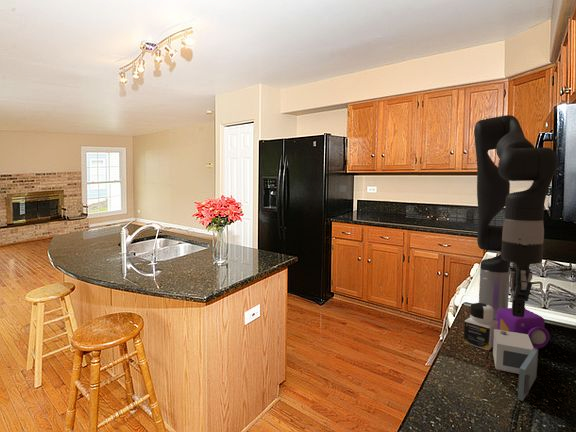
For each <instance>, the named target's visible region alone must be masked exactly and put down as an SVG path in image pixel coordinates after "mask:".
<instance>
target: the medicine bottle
mask: <svg viewBox="0 0 576 432" xmlns="http://www.w3.org/2000/svg"><path fill="white" fill-rule="evenodd" d="M469 310H470V312H469V313H470V315H469V317H468V318H466V319H465V320H464V325H463V344H467V345H470V346H473V347H476V348H480V349H483V350H486V351H490V350H491V349H493V340H494V329H497V330H498V321H497V320H496V319H493V310H494V309H493V308H492V307H491V306H489V305H487V304H484V303H479V302H475V303H471V305H470V309H469Z"/></svg>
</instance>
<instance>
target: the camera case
mask: <svg viewBox="0 0 576 432" xmlns="http://www.w3.org/2000/svg"><path fill="white" fill-rule="evenodd" d="M532 348H534V347H533V345H532V343H531V341H530V338H529V336H528V334H522V333H516V332H510V331H503V330H497V329H494V340H493V347H492V356H493V360H494V361H493V362H494V366H495V370H498V371H503V372H506V373H507V372H508V373H512V374H518V375H519V369H520V367H521V365H522V364H523V362H524V361H525V359H526V358H527V357H528V355H529V354H530V352H531V351H532Z"/></svg>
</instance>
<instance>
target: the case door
mask: <svg viewBox="0 0 576 432" xmlns="http://www.w3.org/2000/svg"><path fill="white" fill-rule="evenodd" d="M538 356H539V349H537V348H534V347H533V348H532V351H531V352H530V354H529V355H528V357H527V358H526V359H525V361H524V362H523V364H522V365H521V367H520V369H519V374H518V384H517V385H518V388H517V400H519V401H521V402H524V401H525V398H526V396H527V395H528V394H529V393H530V389H531V387H533V384H534V382H535V381H536V379H537V378H538V377H537V375H538V374H537V373H538V372H537V371H538V361H539V359H538V358H539V357H538Z"/></svg>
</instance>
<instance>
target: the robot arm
mask: <svg viewBox="0 0 576 432" xmlns="http://www.w3.org/2000/svg"><path fill="white" fill-rule="evenodd" d="M473 133H474V147H475V148H474V149H475V157H476V170H477V171H476V173H477V174H476V197H477V215H478V217H477V233H476V234H477V235H476V240H477V246H478V248H479V249H480V250H482V251H483V250H484V251H490V252H500V253H499V254H498V255H497V256H494V257H491V258H485V259H482V260H481V261H480V269H479V288H478V289H479V290H478V291H479V293H478V303H484V304H487V305H489V306H491V307H492V308H493V309H494V310H493V320H496V321H497V311H498V309H502V308H509V293H511V294H510V295H511V299H512V300H511V308H512V314H513V316H516V317H524V311H525V309H526V302H528V301H529V297H530V294H531V289H532V287H533V284H532V282H531V281H532V280H533V276H534V275H533V271H532V270H531V268H530V265H537V264H541V263H542V262H543V254H544V241H545V240H544V239H545V228H544V227H545V226H544V218H545V217H544V215H545V214H544V213H545V201H546V198H547V194H548V191H549V188H550V186H551V182H552V181H553V178H554V177H555V174H556V171H557V168H558V166H559V158H558V155H557V153H556V151H555V150H553V149H552V148H550V147H535V146H534V145H533V143H532V142H530V140H529V139H527V138H526V136H525V134H524V131H523V129H522V127H521V125H520V122H519V119H517V118H516V116H514V115H511V114H505V115H500V116H495V117H489V118H483V119H479V120H478V121H477V122H476V123H475V125H474V132H473ZM493 150H495V151H496V153H495V154H496V155H497V158H498V159H499V160H498V165H496V164H495V163H494V161H493V160H492V158H491V156H490V155H489V151H493ZM510 182H532V184H531V186H530V187H529V188H528V189H524V190H520V191H516V192H510V191H511V189H510V188H511V183H510ZM503 209H504V221H503V224H502V225H491V224H490V223H491V222H492V220H493V219H494V218H495V217H496V216H497V215H498V214H499V213H501V211H502V210H503ZM511 263H512V266H511Z"/></svg>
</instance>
